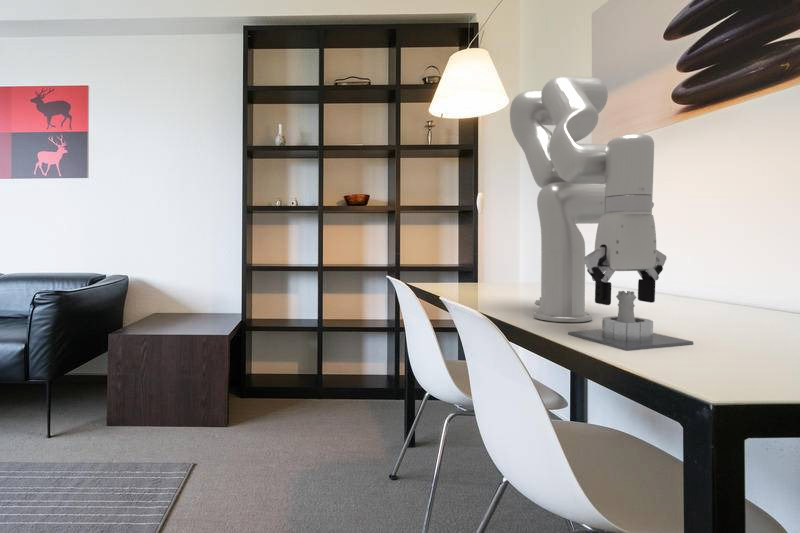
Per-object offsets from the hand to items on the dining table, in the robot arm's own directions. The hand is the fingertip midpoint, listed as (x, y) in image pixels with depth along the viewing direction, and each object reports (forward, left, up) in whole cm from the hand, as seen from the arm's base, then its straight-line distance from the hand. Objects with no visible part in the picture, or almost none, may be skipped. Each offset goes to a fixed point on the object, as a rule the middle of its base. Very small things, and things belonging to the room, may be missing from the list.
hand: (624, 302), depth 78 cm
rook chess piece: (0, 0, -6) cm, 6 cm away
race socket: (+1, 0, -6) cm, 6 cm away
